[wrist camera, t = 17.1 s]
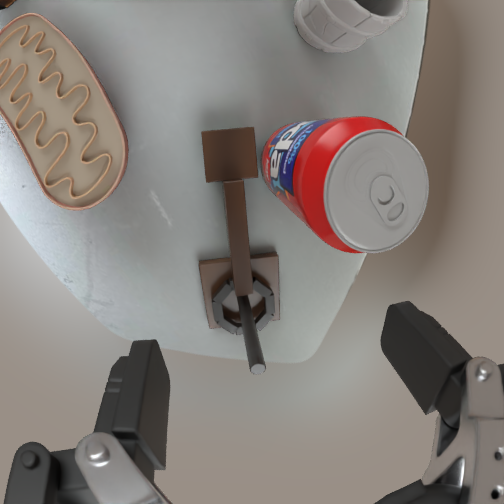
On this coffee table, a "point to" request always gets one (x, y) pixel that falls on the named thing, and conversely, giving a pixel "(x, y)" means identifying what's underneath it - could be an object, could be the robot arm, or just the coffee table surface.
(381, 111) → the coffee table surface
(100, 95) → the mitochondrion model
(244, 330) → the peg stand
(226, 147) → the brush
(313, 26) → the mug
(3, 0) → the sunglasses case
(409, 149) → the soda can
